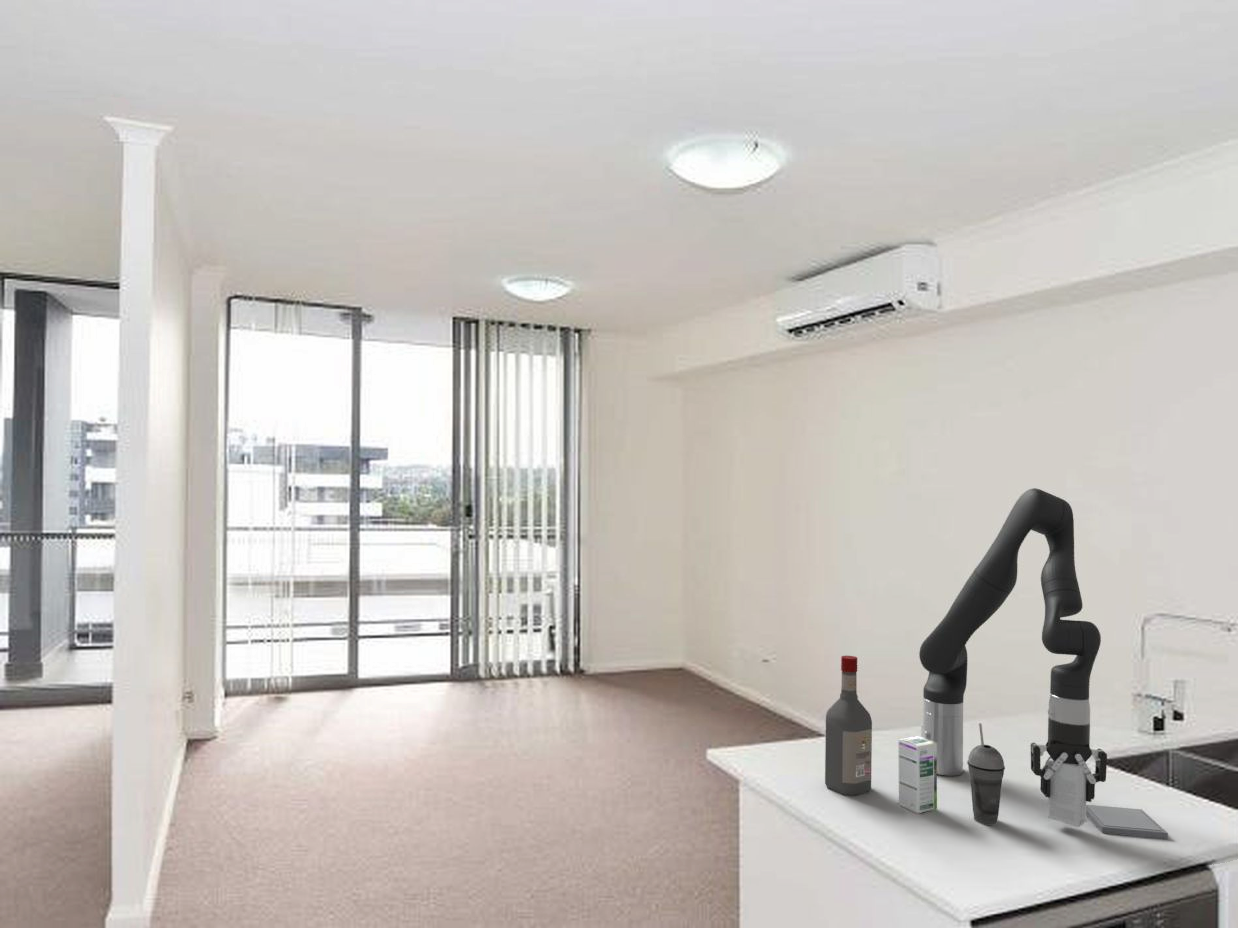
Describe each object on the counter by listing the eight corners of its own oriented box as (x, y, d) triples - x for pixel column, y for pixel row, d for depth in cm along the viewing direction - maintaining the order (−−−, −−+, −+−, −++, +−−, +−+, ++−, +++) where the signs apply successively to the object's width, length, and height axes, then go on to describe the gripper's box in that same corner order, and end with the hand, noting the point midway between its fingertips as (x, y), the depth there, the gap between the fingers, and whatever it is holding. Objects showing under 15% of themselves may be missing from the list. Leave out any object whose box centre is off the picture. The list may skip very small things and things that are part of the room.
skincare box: (1086, 822, 166) (1087, 763, 166) (1078, 827, 163) (1079, 767, 164) (1055, 812, 171) (1056, 755, 171) (1046, 817, 168) (1048, 759, 168)
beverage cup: (1002, 830, 166) (1003, 731, 167) (963, 821, 170) (964, 725, 170) (1006, 818, 172) (1007, 723, 173) (969, 810, 176) (970, 717, 177)
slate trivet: (1102, 832, 166) (1102, 826, 166) (1080, 809, 178) (1080, 803, 178) (1167, 838, 164) (1167, 832, 164) (1141, 814, 175) (1141, 808, 175)
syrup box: (918, 814, 174) (919, 745, 174) (897, 804, 179) (898, 737, 179) (937, 809, 176) (938, 742, 177) (916, 799, 182) (916, 734, 182)
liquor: (877, 790, 187) (878, 659, 187) (848, 798, 182) (850, 663, 182) (846, 777, 194) (848, 651, 195) (819, 784, 190) (820, 655, 190)
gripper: (1036, 719, 165) (1034, 801, 165) (1114, 726, 162) (1112, 809, 162) (1026, 709, 173) (1024, 787, 172) (1100, 715, 170) (1098, 795, 169)
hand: (1067, 797), depth 167 cm, fingers closed on skincare box, 7 cm apart
